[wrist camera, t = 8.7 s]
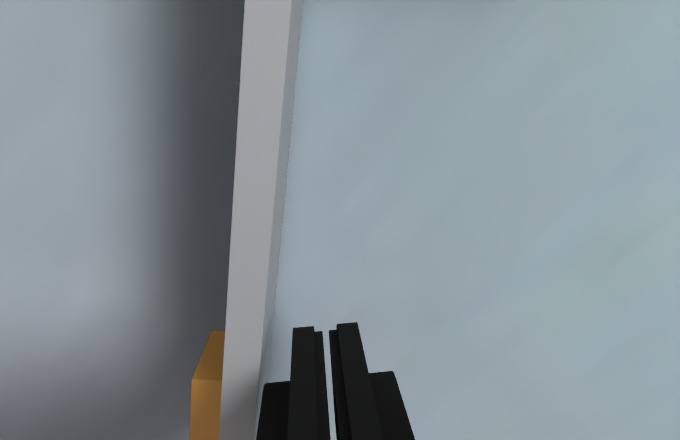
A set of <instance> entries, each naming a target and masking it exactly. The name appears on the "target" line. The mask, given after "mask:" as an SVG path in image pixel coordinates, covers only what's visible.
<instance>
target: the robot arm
mask: <svg viewBox="0 0 680 440" xmlns="http://www.w3.org/2000/svg"><path fill="white" fill-rule="evenodd" d="M329 339H330V354H331V368H332V382H333V397H334V411H335V424H336V436H337V440H415V438H414V435H413V432H412V429H411V425H410V422H409V419H408V416H407V413H406V409H405V406H404V403H403V400H402V397H401V394H400V390H399V387H398V384H397V381H396V378H395V375H394V372H393V371H388V372H377V373H368V368H367V364H366V360H365V355H364V351H363V346H362V342H361V337H360V333H359V328H358V324H357V322H355V323H344V324H337V330H329ZM256 440H330V427H329V414H328V400H327V387H326V374H325V360H324V347H323V334H322V331H318V332H314V326H310V327H299V328H293V337H292V357H291V376H290V381H284V382H274V383H265V384H264V387H263V393H262V401H261V408H260V415H259V422H258V429H257V436H256Z"/></svg>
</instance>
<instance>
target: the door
mask: <svg viewBox="0 0 680 440" xmlns="http://www.w3.org/2000/svg"><path fill="white" fill-rule="evenodd" d="M302 7H303V0H245V6H244V22H243V39H242V56H241V73H240V90H239V107H238V124H237V140H236V157H235V174H234V191H233V208H232V225H231V242H230V258H229V275H228V292H227V309H226V326H225V331H221V330H212V331H211V334H210V336H209V339H208V341H207V343H206V346H205V348H204V351H203V353H202V355H201V358H200V360H199V363H198V365H197V367H196V370H195V372H194V375H193V377H192V384H191V412H190V440H256V436H257V429H258V422H259V415H260V408H261V401H262V393H263V387H264V384H265V383H267V380H268V370H269V359H270V348H271V338H272V327H273V316H274V306H275V295H276V284H277V274H278V263H279V252H280V242H281V231H282V220H283V210H284V199H285V188H286V178H287V167H288V156H289V146H290V135H291V124H292V114H293V103H294V92H295V82H296V71H297V60H298V50H299V39H300V28H301V18H302Z"/></svg>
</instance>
